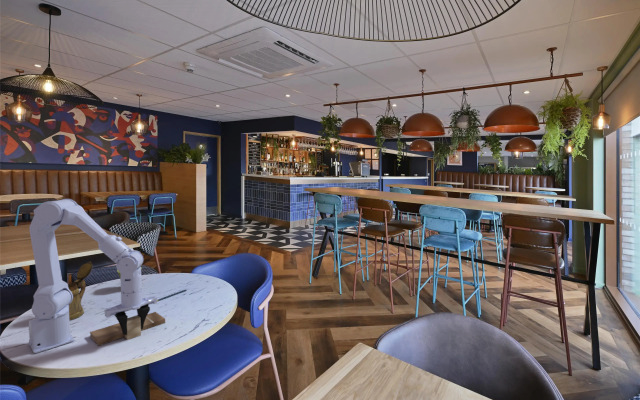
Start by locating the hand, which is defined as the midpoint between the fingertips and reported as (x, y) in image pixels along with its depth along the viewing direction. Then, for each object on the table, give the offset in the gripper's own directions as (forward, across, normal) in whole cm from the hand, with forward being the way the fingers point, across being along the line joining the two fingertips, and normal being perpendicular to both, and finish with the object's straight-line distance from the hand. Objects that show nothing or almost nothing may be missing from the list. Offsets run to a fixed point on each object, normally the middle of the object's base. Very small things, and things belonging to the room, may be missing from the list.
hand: (132, 331), depth 102 cm
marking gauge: (+2, 0, +3) cm, 3 cm away
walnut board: (+2, +1, +6) cm, 6 cm away
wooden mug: (+2, -8, +33) cm, 34 cm away
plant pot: (+2, +15, +46) cm, 48 cm away
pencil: (+2, +23, +24) cm, 33 cm away
